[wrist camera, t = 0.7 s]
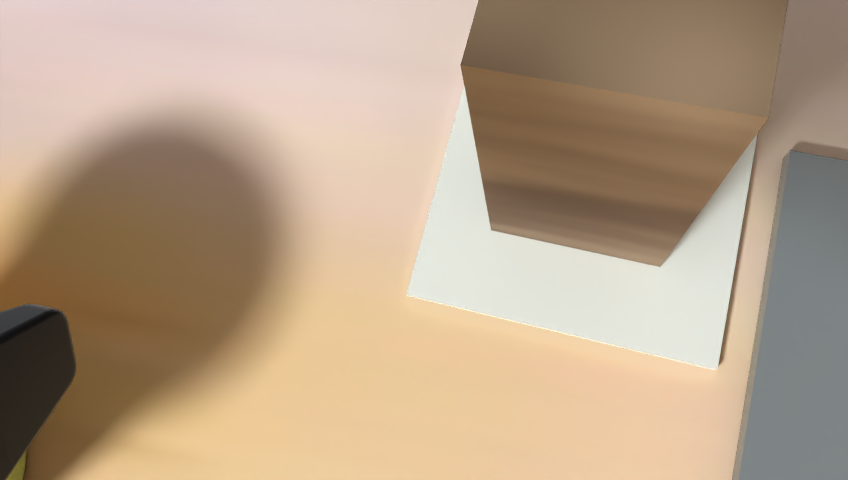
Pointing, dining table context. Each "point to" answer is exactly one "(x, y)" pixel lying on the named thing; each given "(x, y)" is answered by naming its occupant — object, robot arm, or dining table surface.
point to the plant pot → (18, 470)
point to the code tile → (581, 268)
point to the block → (615, 113)
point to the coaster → (801, 333)
